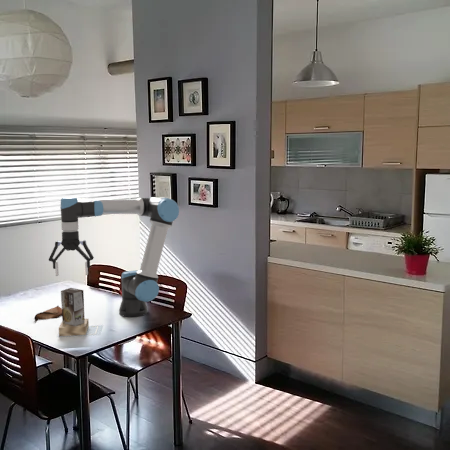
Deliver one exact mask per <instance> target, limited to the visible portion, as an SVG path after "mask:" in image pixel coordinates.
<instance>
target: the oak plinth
mask: <svg viewBox="0 0 450 450" xmlns="http://www.w3.org/2000/svg"><path fill="white" fill-rule="evenodd" d="M89 326H90V324H89V318H85V323H83V324H80V325H77V326H73V325H69V324H65V323H63V321H62V320H61V323H60V325H59V327H58V333H59V336H71V337H75V336H74V335H86V332H87V330H88V327H89Z"/></svg>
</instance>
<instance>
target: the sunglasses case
mask: <svg viewBox="0 0 450 450" xmlns="http://www.w3.org/2000/svg"><path fill="white" fill-rule="evenodd" d="M60 317H62V307H60V306H59V305H57V306H55V307H52V308H50V309H47V310H44V311H43V312H42V311H41V312H38V313H36V314H35V315H34V318H33V319H34V321H35V322H38V321H39V320H41V321H42V320H43V321H44V320H46V321H47V320H52V319H55V320H56V319H58V318H60Z"/></svg>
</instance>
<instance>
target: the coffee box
mask: <svg viewBox="0 0 450 450" xmlns="http://www.w3.org/2000/svg"><path fill="white" fill-rule="evenodd" d="M84 295H85V294H84V289H81V288H80V289H79V288H74V287H68V288H66V289H63V290H60V299H61V300H60V301H61V303H60V304H61V308H62V316H61V318H62V320H61V322H62V321H63V323H65V324H69V325H73V326H77V325H80V324H83V323H85V319H86V317H85V299H84V298H85V297H84Z"/></svg>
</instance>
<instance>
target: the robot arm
mask: <svg viewBox="0 0 450 450" xmlns="http://www.w3.org/2000/svg"><path fill="white" fill-rule="evenodd" d="M179 213H180V208H179V204H178V203H177V202H176V201H175V200H174V199H171V198H169V197H160V196H150V197H149V196H148V197H139V198H137V199H123V198H122V199H119V198H118V199H110V198H107V199H106V198H79V197H78V198H77V197H75V196H74V197H71V196H70V197H69V196H68V197H62V198H61V199H60V217H61V219H60V220H61V222H60V223H61V225H60V226H61V241H59V240H56V241H55V242H54V247H53V249H52V251H51V254H50V256H49V257H48V261H49V262H52V268H53V270H55V277H58V276H59V261H57V260H59V258H60V257H61V255H62V254H63V253H64V252H65V251H68V252H69V251H77V252H78V253H79V255H81V256H82V258H83V259H84V260H85V262H84V265H85V267H84V268H85V276H88V275H89V269H90V267H91V261H92V260H94V259H95V257H94V255H93V253H92V252H91V250H90V248H89V247H88V245H87V241H86V240H85V239H84V240H80V234H79V218H86V217H87V218H89V217H101V216H102V215H137V216H138V217H149V218H150V219H149V222H150V223H151V227H150V229H149V230H150V231H149V234H148V239H147V241H146V245H145V251H144V254H143V257H142V261H141V266H140V269H138V270H129V271H123V272H122V273H121V278H120V280H121V296H122V298H121V302H120V306H119V310H118V314H119V315H120V316H122V317H127V318H135V317H136V318H137V317H141V316H145V315H147V314H148V310H149V309H148V305H147V302H151V301H153V300H155V299H156V298H157V296H158V295H159V292H160V286H159V284H158V280H159V276H158V274H157V272H158V268H159V265H160V264H159V263H160V261H161V258H162V253H163V250H164V245H165V242H166V237H167V234H168V231H169V229H170V228H171V227H172V226H173V223H174V221H176V219H177V218H178V217H179ZM60 245H61V246H62V249H60V251H59V252H58V253H57V255H56V256H55V254H56V252H57V251H58V248H59V246H60ZM80 245H81V246H83V248H84V250H85V252H84V251H83V249H81V247H80ZM86 253H87V254H86ZM54 256H55V257H54Z"/></svg>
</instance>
